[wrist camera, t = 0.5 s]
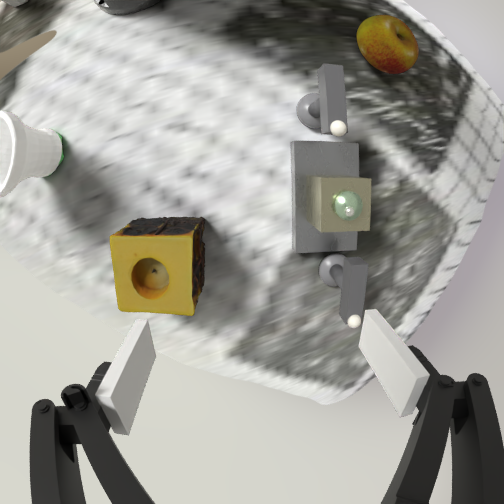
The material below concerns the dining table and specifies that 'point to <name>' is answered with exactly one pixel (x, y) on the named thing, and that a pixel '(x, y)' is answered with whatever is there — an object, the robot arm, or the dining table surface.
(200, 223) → the candle
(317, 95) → the knob
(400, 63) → the fruit
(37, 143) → the cup
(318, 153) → the level base
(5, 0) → the jar
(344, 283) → the knob
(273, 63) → the dining table surface
